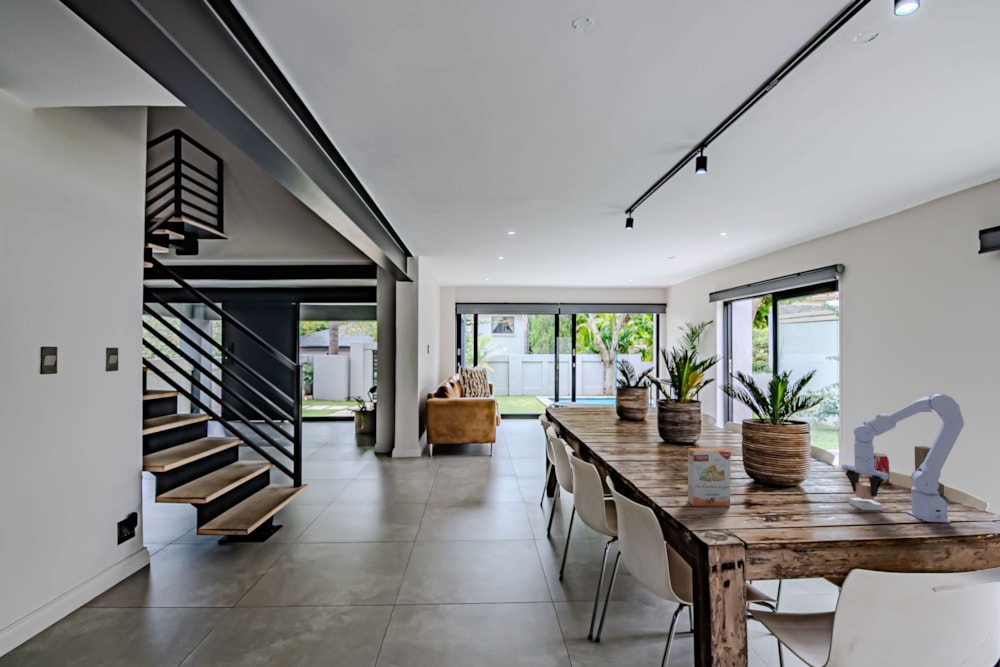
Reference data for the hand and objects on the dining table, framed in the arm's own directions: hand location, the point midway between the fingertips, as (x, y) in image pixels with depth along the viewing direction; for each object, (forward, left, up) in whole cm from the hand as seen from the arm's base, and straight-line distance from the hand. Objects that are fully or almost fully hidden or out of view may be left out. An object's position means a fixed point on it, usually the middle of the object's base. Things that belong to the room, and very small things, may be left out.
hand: (864, 493), depth 174 cm
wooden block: (+22, -38, -5) cm, 44 cm away
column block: (0, 0, -2) cm, 2 cm away
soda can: (+36, -28, -5) cm, 46 cm away
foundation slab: (0, 0, -5) cm, 5 cm away
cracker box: (-3, +58, -5) cm, 58 cm away
